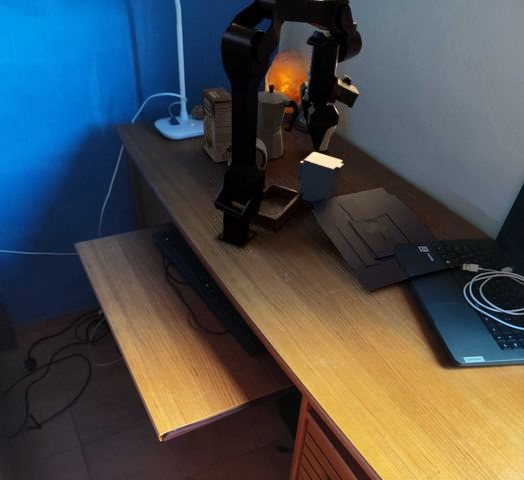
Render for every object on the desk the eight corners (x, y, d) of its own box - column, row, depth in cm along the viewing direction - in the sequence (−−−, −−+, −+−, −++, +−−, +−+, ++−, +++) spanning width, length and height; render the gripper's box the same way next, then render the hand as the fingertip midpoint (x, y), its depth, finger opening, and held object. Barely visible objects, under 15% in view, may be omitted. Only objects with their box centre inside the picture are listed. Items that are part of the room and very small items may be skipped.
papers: (385, 195, 119) (389, 183, 116) (456, 275, 103) (463, 262, 100) (300, 212, 111) (303, 199, 108) (363, 300, 96) (368, 288, 93)
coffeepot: (240, 152, 135) (240, 84, 121) (256, 141, 140) (258, 74, 127) (286, 166, 130) (293, 97, 117) (301, 154, 136) (309, 87, 122)
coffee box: (203, 149, 135) (200, 88, 123) (224, 146, 137) (223, 86, 125) (214, 163, 129) (212, 101, 118) (236, 159, 131) (236, 98, 120)
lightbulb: (310, 153, 136) (314, 114, 128) (314, 145, 140) (319, 106, 132) (330, 157, 135) (336, 117, 127) (334, 148, 139) (340, 110, 131)
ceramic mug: (265, 161, 131) (266, 133, 126) (266, 175, 126) (268, 147, 120) (228, 161, 131) (227, 133, 125) (227, 175, 125) (226, 146, 120)
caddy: (275, 231, 108) (276, 219, 106) (241, 219, 110) (241, 208, 108) (302, 203, 117) (303, 192, 115) (269, 193, 119) (270, 182, 117)
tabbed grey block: (330, 208, 116) (337, 170, 108) (292, 195, 119) (296, 157, 112) (339, 199, 119) (346, 161, 112) (302, 187, 123) (306, 149, 115)
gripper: (369, 83, 93) (354, 159, 105) (351, 55, 106) (339, 125, 117) (315, 82, 92) (305, 158, 104) (302, 53, 105) (296, 125, 116)
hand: (313, 141), depth 110 cm, fingers open, 9 cm apart
